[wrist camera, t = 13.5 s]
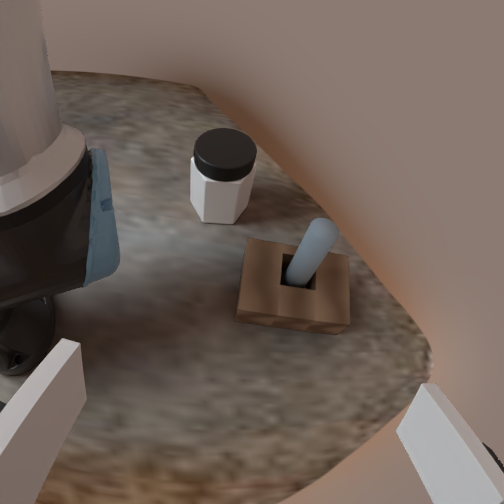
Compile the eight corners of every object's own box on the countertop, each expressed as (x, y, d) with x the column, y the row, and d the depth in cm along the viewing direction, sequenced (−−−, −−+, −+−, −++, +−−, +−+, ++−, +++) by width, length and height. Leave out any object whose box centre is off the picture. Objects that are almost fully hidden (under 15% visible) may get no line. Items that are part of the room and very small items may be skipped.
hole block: (234, 320, 41) (238, 309, 37) (243, 254, 46) (248, 237, 42) (336, 335, 42) (349, 324, 38) (336, 270, 47) (348, 255, 43)
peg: (278, 295, 44) (309, 240, 32) (280, 274, 46) (309, 215, 34) (301, 298, 44) (339, 245, 32) (302, 278, 46) (338, 220, 34)
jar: (212, 175, 53) (218, 119, 43) (255, 197, 52) (269, 141, 42) (180, 210, 49) (179, 152, 38) (225, 235, 47) (234, 180, 37)
